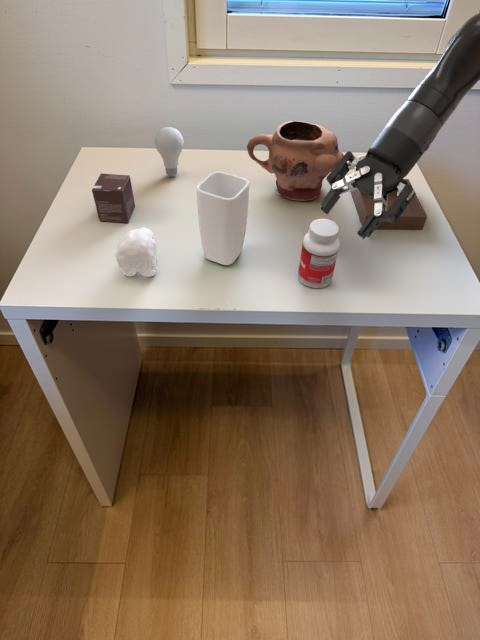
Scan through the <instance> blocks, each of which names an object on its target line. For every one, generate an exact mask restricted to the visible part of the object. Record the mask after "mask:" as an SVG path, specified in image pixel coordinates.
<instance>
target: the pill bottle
mask: <svg viewBox="0 0 480 640" xmlns="http://www.w3.org/2000/svg"><path fill="white" fill-rule="evenodd" d="M339 231H340V228H339V225H338V224H337V223H336V222H335V221H333V220H331V219H328V218H316V219H314V220H313V221H311V222H310V225H309V229H308V232H307V233H306V234H305V235H304V237H303V240H302V246H301V251H300V257H299V264H298V270H297V277H298V280H299V281H300V282H301V284H303V285H304V286H306V287H308V288H311V289H313V288H314V289H322V288H323V289H324V288H326V287H327V286H328V285H330V284H331V282H332V281H333V278H334V273H335V268H336V264H337V260H338V256H339V252H340V248H341V247H340V246H341V241H340V239H339V237H338V236H339Z"/></svg>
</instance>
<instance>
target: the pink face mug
mask: <svg viewBox="0 0 480 640" xmlns="http://www.w3.org/2000/svg"><path fill="white" fill-rule="evenodd" d="M258 145H263V146H265V147H266V148H267V150H268V158H267V159H265V160H260V159H258V158H257V157H256V156H255V154H254V149H255V148H256V147H257V146H258ZM246 150H247V154H248V156H249V158H250V159H251V160H253V161H254V162H256V164H258V165H259V166H260V167H261V168H263V169H264V170H266V171H267V172H268V173H269V174H274V176H275V178H276V179H275V185H276V186H275V187H276V190H277V192H278V195H280V196H281V197H283V198H286V199H288V200H293V201H312V200H315V199H316V198H318V197H319V196H320V194H321V192H322V188H323V181H324V179H326V178H327V176H328V175H329V174H330V172H331V171H332V170H333V169H334V167H335V166H336V165H337V164H338V162H339V161H340V160H341V159H342V157H343V156H344V155H345V154H344V153H343V151H341V150H340V148H339V143H338V136H337V135H336V134H335V133H333V132H332V131H330V130H329V129H327V128H326V127H325V126H323V125H320V124H316V123H312V122H307V121H303V120H290V121H285V122H283V123H281V124H279V125H278V127H277V128H276V129H275V132H274V133H273V134H258V135H255V136H252V137H251V138H249V140H248V142H247V144H246Z"/></svg>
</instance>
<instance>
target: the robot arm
mask: <svg viewBox="0 0 480 640" xmlns="http://www.w3.org/2000/svg"><path fill="white" fill-rule="evenodd" d="M479 81H480V12H479V13H476V14H474V15H473V16H471V17H469V18H468V19H467V20H466V21H465V22H464V23H463V25H461V27H460V28H459V29H458V30H457V31H456V32H455V33H454V34H453V35H452V36H451V37H450V38H449V40H448V41H447V43H446V45H445V48H444V52H443V54H442V56H441V57H440V59H439V60H438V61H437V63H436V64H435V66H433V68H432V69H431V70H429V72H428V73H427V74H426V75H425V76H424V77H423V78H422V79H421V80H420V81H419V83H418V84H417V85H416V87H415V88H414V89H413V91H412V92H411V93H410V95H409V96H408V97H407V99H406V100H405V102H404V103H403V104H402V105H401V106H400V107H399V108H397V109H398V110H396V111H395V113H394V114H393V115H392V117H391V118H390V120H389V121H388V122H387V123H386V125H385V126H384V127H383V128H382V130H381V132H380V133H379V134H378V136H377V137H376V138H375V140H374V141H373V143H372V144H371V145H370V146H369V148H368V150H367V151H366V154H365V155H364V156H363V157H362V158H361V159H360V158H357V157H356V156H355V155H354V154H353V152H352V151H350V150H349V151H347V152H345V154H343V155H344V156H343V157H342V159H341V160H340V161H339V162H338V164H337V165H336V166H335V167H334V169H333V170H332V171H331V172H330V173H329V174H328V175H327V176H326V177H325V179H326V181H327V183H328V184H329V186H330V189H329V191H328V192H327V193H326V195H325V197H324V198H323V199H322V200H321V203H320V208H319V209H320V211H321V212H323V213H324V214H326V215H328V214H329V213H330V212H331V211H332V209H333V208H334V207H335V205H336V204H337V202H338V201H339V200H340V199H341V196H340V195H344V194H346V193H348V192H351V191H354V190H356V189H358V190H359V191H360V192H362V193H365V194H368V195H369V197H370V198H372V199H374V202H375V207H374V215H372V214H371V215H370V216H369V218H368V219H367V220H366V222H365V223H364V224H363V225H361V227H360V228H359V229H358V230H357V235H358V236H359V237H360V238H361V239H363V240H364V239H366V238H369V237H371V236H372V235H373V233H374V232H375V231H376V230H377V229H376V228H377V227H378V226H379V224H380V223H381V222H383V221H387V222H391V223H396V222H397V220H398V219H399V217H400V216H401V214H402V213H403V212H404V210H405V209H406V207H407V206H408V204H409V203H410V201H411V200H412V199H413V197H414V196H415V193H416V191H415V189H414V187H413V185H412V184H411V185H412V186H411V185H410V184H407V185H405V184H403V183H402V180H403V179H405V178H406V177H407V176H408V175H409V174H410V172H411V171H412V169H413V168H414V167H415V165H417V163H419V161H420V159H421V158H422V156H424V154H425V153H426V152H427V151H428V150H429V148H430V147H431V145H432V143H433V142H434V140H435V139H436V138H437V135H438V134H439V132H440V130H441V129H442V127H443V126H444V125H445V124H446V122H447V121H448V120H449V118H450V117H451V116H452V114H454V112H455V110H456V109H457V108H458V106H459V105H460V103H461V102H462V101H463V99H464V98H465V96H466V95H467V94H468V93H469V92H470V91H471V90H472V89H473V88H474V86H475V85H476V84H477V83H478V82H479ZM354 168H355V171H354V172H351V173H349V172H350V171H351V170H354ZM348 173H349V174H348ZM353 181H355V182H353ZM397 190H398V192H397V195H398V197H397V198H396V199H395V201H394V202H393V204H392V205H391V207H390V208H389V210H388V211H386V208H387V205H388V194H390V193H392V192H395V191H397Z"/></svg>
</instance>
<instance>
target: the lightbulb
mask: <svg viewBox="0 0 480 640" xmlns="http://www.w3.org/2000/svg"><path fill="white" fill-rule="evenodd" d="M184 144H185V143H184V138H183V135H182V134H181V132H180V131H179V130H178V129H177V128H174V127H171V126H166V127H162V128H161V129H159V130H158V131H157V132H156V134H155V137H154V146H155V149H156V150H157V153H158V154H159V155H160V157H161V159H162V161H163V166H164V167H165V173H166V175H167V176H169V177H171V178H173V177H174V176H176V175H178V167H179V159H180V158H179V157H180V155H181V153H182V152H183V151H182V150H183V149H184Z"/></svg>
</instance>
